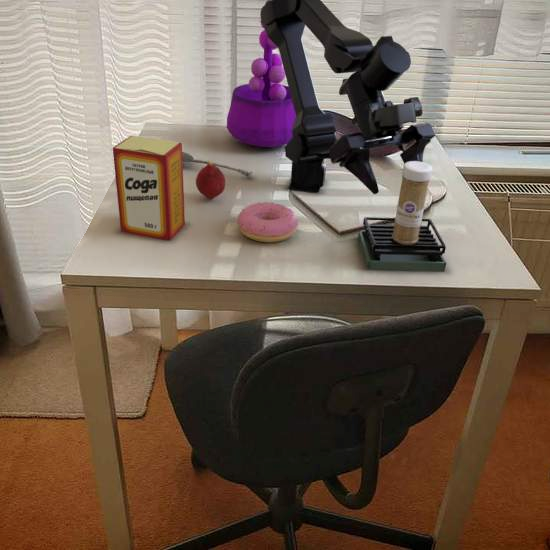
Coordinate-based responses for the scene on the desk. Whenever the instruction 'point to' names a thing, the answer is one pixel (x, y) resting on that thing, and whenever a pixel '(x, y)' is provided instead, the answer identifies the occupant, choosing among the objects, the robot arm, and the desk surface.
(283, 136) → the decorative plant
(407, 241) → the sprinkles bottle
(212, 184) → the onion
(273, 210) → the doughnut
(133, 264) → the desk surface
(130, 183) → the baking soda box
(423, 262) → the drip tray
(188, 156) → the soupspoon
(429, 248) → the rack
